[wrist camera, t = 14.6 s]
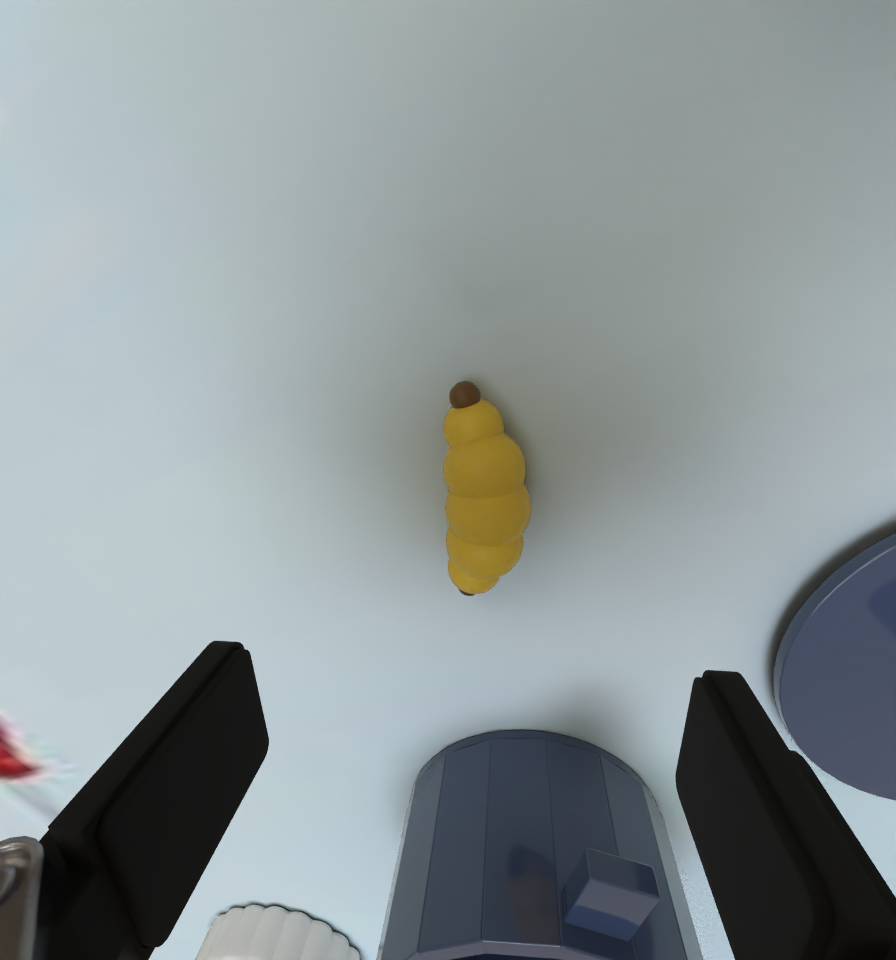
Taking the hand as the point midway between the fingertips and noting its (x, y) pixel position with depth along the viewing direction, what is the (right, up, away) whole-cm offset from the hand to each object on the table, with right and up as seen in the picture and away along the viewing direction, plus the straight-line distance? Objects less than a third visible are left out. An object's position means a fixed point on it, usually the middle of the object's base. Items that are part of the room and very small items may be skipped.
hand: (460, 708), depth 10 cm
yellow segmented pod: (+1, +4, +9) cm, 10 cm away
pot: (+4, -14, +16) cm, 22 cm away
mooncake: (-12, -30, +25) cm, 41 cm away
